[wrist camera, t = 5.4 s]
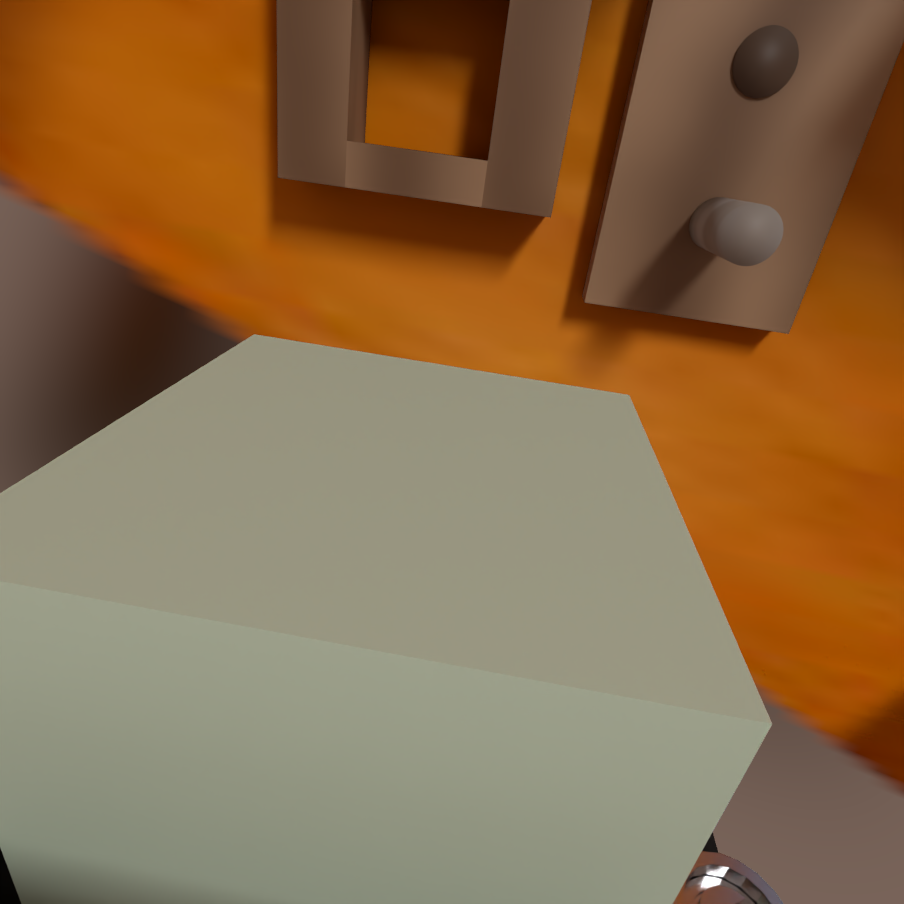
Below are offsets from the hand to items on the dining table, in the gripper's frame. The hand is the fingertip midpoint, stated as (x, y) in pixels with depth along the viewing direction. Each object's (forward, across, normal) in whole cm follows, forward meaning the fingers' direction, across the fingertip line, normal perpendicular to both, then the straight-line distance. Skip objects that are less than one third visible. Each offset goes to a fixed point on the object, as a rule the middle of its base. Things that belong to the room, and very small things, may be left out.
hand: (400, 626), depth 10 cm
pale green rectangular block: (+1, 0, 0) cm, 1 cm away
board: (+17, -8, -9) cm, 21 cm away
